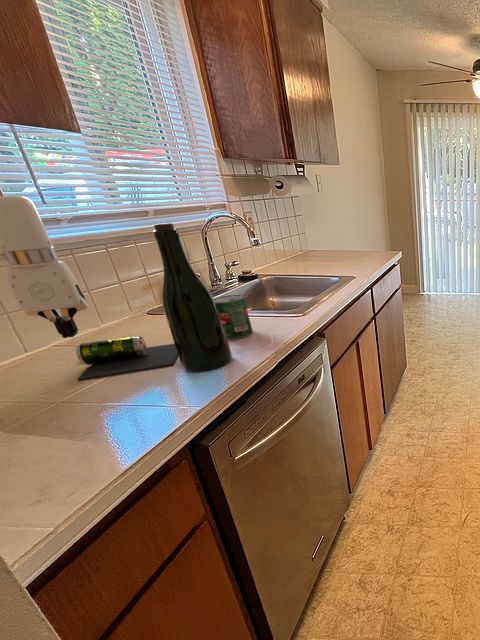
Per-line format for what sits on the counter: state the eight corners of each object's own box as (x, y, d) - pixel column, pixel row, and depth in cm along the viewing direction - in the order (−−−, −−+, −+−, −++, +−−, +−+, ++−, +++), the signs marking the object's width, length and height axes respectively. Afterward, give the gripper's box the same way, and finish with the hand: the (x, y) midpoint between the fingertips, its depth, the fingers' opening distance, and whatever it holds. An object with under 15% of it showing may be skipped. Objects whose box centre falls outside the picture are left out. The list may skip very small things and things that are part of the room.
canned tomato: (216, 339, 114) (204, 301, 109) (236, 329, 121) (225, 294, 116) (240, 340, 113) (229, 302, 108) (259, 330, 120) (249, 295, 115)
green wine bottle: (186, 360, 100) (137, 222, 87) (233, 352, 105) (194, 220, 91) (180, 376, 92) (125, 227, 78) (232, 367, 96) (189, 223, 83)
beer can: (87, 349, 100) (146, 341, 105) (88, 369, 98) (147, 359, 103) (75, 339, 95) (137, 331, 100) (75, 359, 94) (138, 350, 98)
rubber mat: (78, 380, 91) (77, 378, 91) (103, 355, 104) (102, 353, 104) (172, 365, 98) (172, 363, 98) (184, 343, 111) (184, 342, 111)
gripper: (-26, 263, 81) (19, 347, 88) (70, 256, 86) (104, 335, 94) (-4, 257, 87) (36, 336, 95) (83, 251, 93) (115, 326, 100)
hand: (70, 335), depth 94 cm, fingers closed
